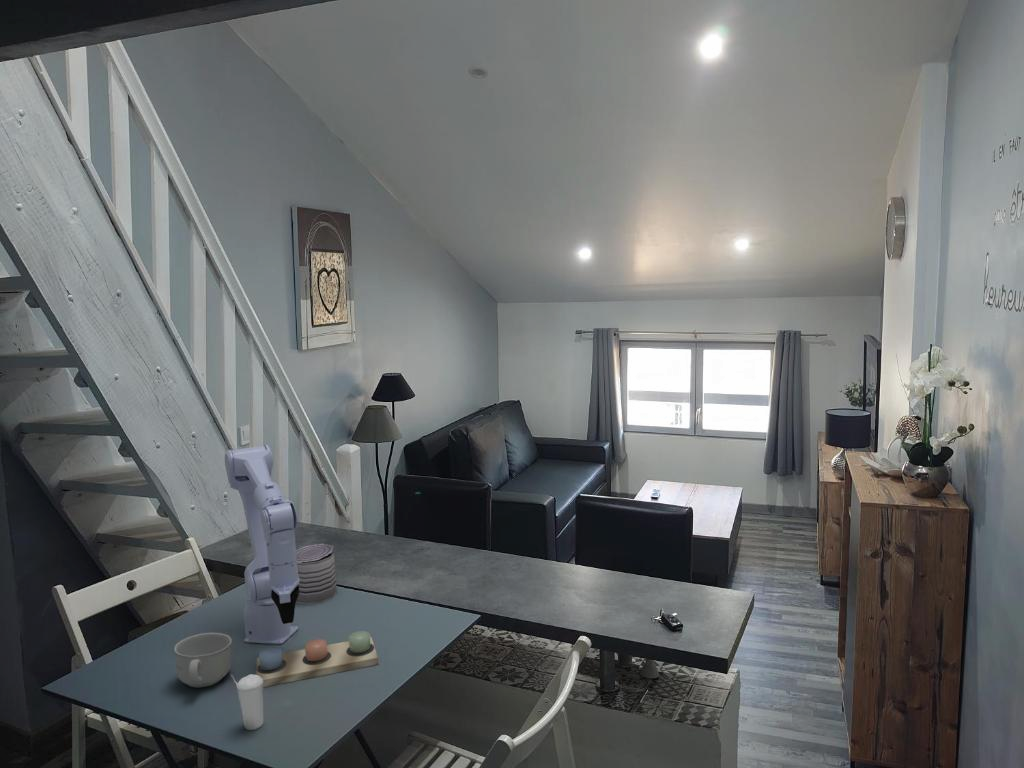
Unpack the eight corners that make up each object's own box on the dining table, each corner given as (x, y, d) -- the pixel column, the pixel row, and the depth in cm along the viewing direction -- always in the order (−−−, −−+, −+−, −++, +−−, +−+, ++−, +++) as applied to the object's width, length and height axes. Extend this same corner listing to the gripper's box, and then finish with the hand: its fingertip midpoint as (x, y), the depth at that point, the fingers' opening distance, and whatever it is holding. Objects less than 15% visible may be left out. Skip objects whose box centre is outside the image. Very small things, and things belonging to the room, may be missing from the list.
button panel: (256, 688, 148) (256, 680, 147) (257, 664, 157) (256, 657, 157) (378, 664, 155) (377, 657, 155) (371, 643, 164) (371, 636, 164)
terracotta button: (306, 663, 153) (305, 650, 153) (305, 653, 157) (304, 641, 157) (328, 658, 154) (327, 646, 154) (326, 649, 158) (325, 637, 158)
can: (337, 601, 187) (333, 555, 186) (290, 607, 185) (286, 561, 183) (337, 584, 198) (333, 541, 197) (293, 590, 196) (289, 546, 194)
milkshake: (240, 719, 137) (234, 668, 136) (269, 716, 137) (264, 665, 136) (233, 734, 133) (227, 681, 131) (263, 731, 133) (258, 678, 132)
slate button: (260, 671, 150) (259, 659, 150) (260, 661, 154) (259, 649, 154) (283, 667, 151) (281, 655, 151) (282, 657, 156) (281, 645, 155)
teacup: (192, 666, 157) (188, 631, 156) (243, 665, 157) (239, 629, 156) (160, 703, 144) (155, 664, 143) (215, 702, 143) (211, 663, 142)
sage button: (350, 654, 156) (349, 642, 155) (348, 645, 160) (347, 633, 159) (371, 650, 157) (371, 638, 157) (369, 641, 161) (368, 629, 161)
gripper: (263, 551, 161) (268, 611, 163) (261, 576, 147) (267, 640, 149) (296, 546, 163) (302, 605, 165) (298, 570, 149) (303, 634, 151)
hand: (288, 621), depth 157 cm, fingers closed
